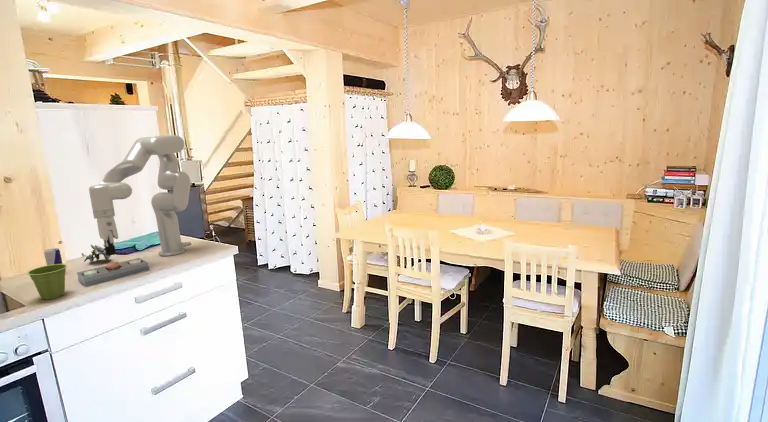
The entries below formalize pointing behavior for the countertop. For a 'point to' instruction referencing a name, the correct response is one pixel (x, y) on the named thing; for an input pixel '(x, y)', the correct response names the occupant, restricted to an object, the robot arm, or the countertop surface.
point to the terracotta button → (113, 265)
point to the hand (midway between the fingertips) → (111, 254)
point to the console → (112, 272)
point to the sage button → (90, 272)
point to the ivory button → (134, 262)
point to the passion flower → (97, 253)
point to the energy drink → (53, 256)
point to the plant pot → (49, 280)
